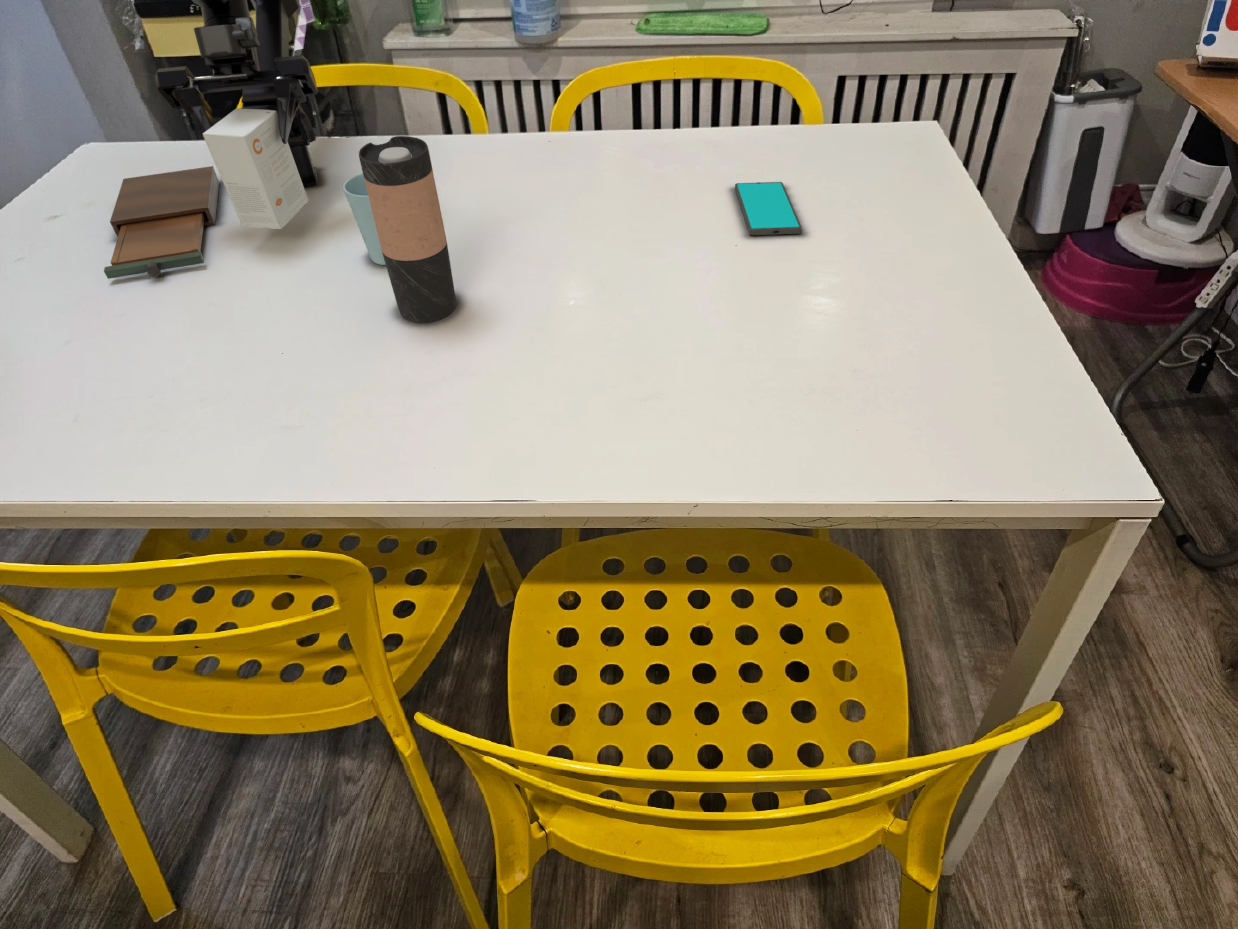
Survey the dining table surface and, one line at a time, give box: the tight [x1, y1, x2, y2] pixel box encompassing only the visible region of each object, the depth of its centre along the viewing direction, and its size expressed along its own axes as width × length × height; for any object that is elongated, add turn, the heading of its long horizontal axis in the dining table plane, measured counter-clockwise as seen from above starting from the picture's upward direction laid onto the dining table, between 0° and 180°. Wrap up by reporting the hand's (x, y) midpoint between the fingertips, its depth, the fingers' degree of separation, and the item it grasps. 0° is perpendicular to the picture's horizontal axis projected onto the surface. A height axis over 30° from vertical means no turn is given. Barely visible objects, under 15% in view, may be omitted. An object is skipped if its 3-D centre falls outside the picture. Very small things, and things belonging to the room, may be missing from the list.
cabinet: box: [109, 165, 220, 238], centre depth 120 cm, size 15×13×3 cm
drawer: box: [103, 212, 205, 280], centre depth 110 cm, size 16×12×2 cm
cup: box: [342, 172, 386, 266], centre depth 106 cm, size 8×8×10 cm
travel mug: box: [358, 135, 457, 324], centre depth 93 cm, size 8×8×20 cm
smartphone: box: [734, 181, 803, 236], centre depth 116 cm, size 7×1×15 cm
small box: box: [202, 108, 310, 230], centre depth 107 cm, size 8×6×13 cm
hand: (250, 146), depth 104 cm, fingers closed on small box, 8 cm apart
